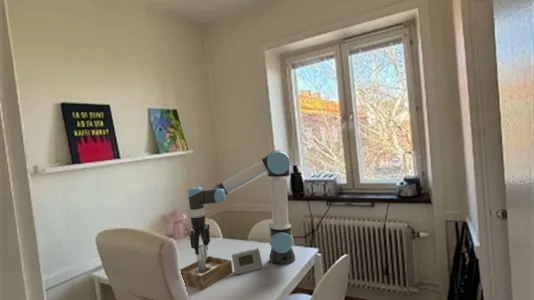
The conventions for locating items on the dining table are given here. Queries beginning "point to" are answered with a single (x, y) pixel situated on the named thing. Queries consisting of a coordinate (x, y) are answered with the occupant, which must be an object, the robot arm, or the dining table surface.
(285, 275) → the dining table surface
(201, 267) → the dowel
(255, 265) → the digital clock
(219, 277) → the open box
